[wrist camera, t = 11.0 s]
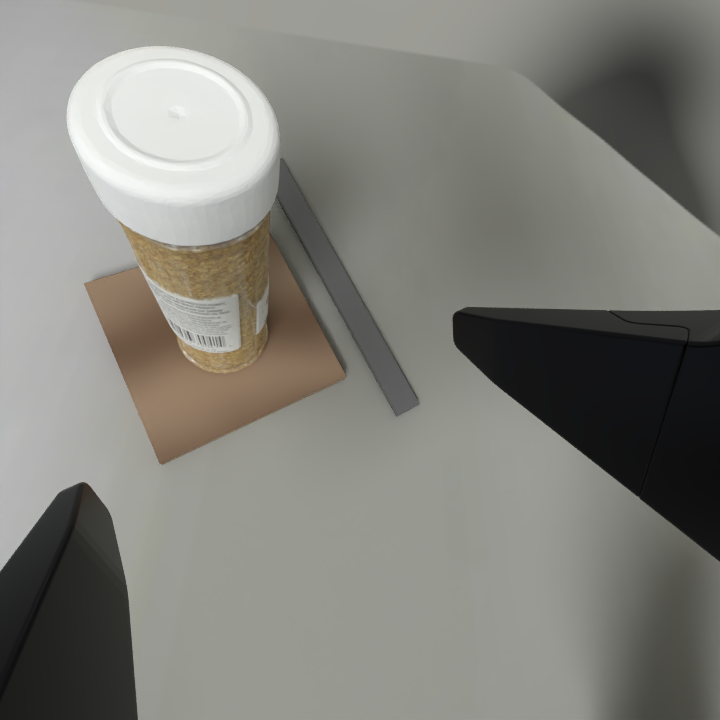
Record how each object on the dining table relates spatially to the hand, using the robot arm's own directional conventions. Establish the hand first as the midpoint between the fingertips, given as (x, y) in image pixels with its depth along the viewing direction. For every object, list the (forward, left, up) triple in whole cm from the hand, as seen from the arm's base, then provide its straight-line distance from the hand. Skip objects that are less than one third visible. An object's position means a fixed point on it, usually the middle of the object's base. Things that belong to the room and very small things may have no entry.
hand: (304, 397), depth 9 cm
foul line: (-1, -11, -12) cm, 16 cm away
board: (+4, -5, -12) cm, 14 cm away
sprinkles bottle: (+4, -5, -12) cm, 14 cm away
